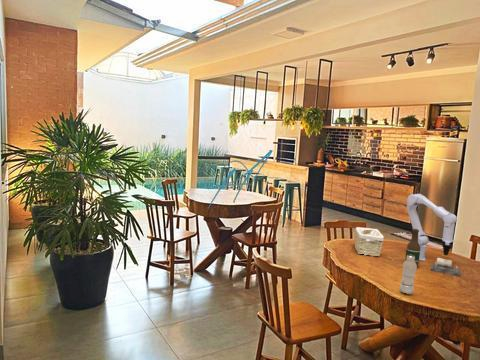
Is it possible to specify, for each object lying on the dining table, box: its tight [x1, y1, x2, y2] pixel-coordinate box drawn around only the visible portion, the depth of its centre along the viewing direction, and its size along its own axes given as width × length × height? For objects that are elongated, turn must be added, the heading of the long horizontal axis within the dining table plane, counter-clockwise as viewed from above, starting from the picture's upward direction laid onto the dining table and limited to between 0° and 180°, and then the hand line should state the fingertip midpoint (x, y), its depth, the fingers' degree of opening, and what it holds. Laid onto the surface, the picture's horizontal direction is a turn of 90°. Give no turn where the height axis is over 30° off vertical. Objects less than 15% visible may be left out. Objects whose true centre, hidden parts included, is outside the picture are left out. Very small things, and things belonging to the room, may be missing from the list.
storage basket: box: [354, 226, 385, 257], centre depth 255 cm, size 24×16×15 cm
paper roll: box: [435, 257, 453, 267], centre depth 235 cm, size 9×5×5 cm, turn 61°
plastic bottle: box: [399, 255, 417, 295], centre depth 186 cm, size 6×7×20 cm
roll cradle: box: [430, 261, 462, 277], centre depth 226 cm, size 16×10×4 cm, turn 61°
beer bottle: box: [404, 228, 420, 268], centre depth 229 cm, size 8×8×24 cm
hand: (445, 253), depth 234 cm, fingers open, 7 cm apart
